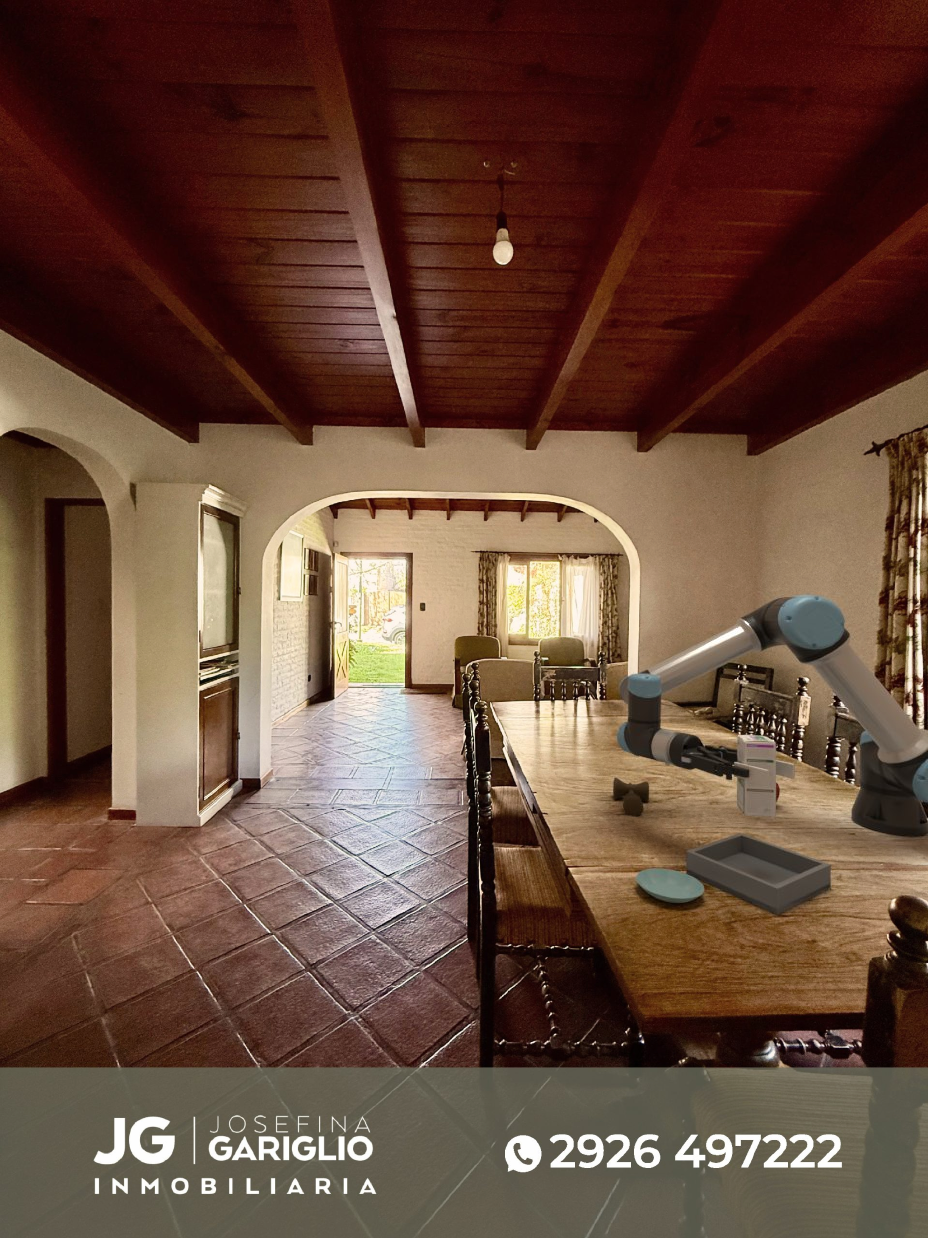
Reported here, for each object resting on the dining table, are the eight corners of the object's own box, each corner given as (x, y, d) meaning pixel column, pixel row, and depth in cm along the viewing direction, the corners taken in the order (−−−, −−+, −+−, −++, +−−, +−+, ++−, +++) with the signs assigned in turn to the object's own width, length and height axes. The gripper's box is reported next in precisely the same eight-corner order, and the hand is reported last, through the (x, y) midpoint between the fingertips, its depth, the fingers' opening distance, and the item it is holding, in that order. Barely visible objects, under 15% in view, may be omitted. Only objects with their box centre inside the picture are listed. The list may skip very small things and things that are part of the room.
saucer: (647, 874, 112) (647, 862, 111) (710, 891, 105) (710, 879, 105) (626, 898, 102) (627, 885, 102) (695, 918, 95) (695, 905, 95)
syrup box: (777, 818, 106) (778, 741, 106) (743, 815, 107) (744, 739, 107) (767, 808, 111) (768, 735, 111) (735, 806, 113) (736, 733, 113)
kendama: (613, 817, 144) (612, 791, 164) (652, 821, 142) (647, 795, 161) (613, 794, 144) (613, 771, 164) (653, 798, 142) (647, 774, 161)
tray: (740, 854, 121) (740, 833, 121) (830, 888, 105) (830, 864, 105) (686, 873, 111) (686, 851, 111) (777, 915, 96) (777, 889, 96)
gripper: (707, 760, 130) (810, 786, 110) (646, 772, 119) (748, 803, 100) (708, 728, 130) (811, 748, 110) (646, 737, 119) (748, 761, 100)
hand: (781, 774), depth 105 cm, fingers closed on syrup box, 8 cm apart
